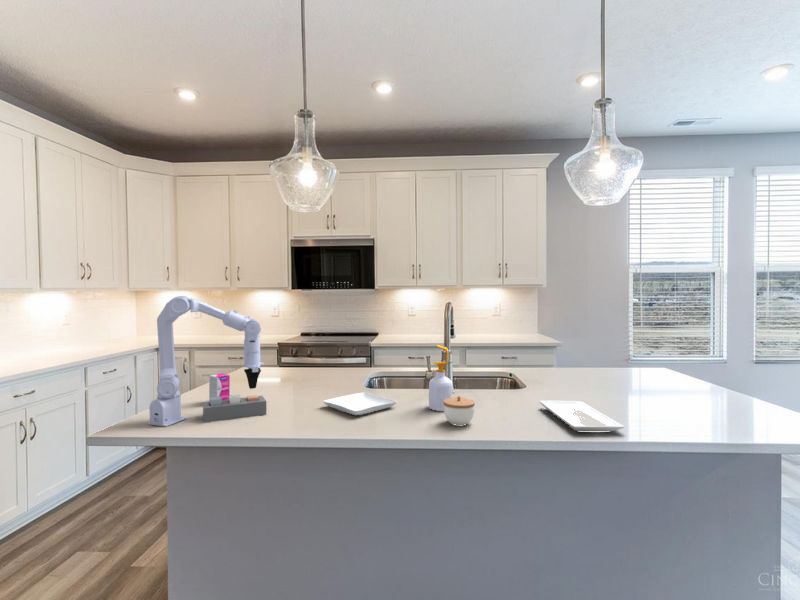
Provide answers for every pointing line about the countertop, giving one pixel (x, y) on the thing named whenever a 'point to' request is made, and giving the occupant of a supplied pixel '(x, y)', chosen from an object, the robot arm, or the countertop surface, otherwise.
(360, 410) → the salad plate
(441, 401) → the soap bottle
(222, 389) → the supplement box
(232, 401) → the white key
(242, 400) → the grey socket block
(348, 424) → the countertop surface
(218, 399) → the slate key
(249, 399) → the terracotta key
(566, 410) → the tray
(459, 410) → the lidded jar
